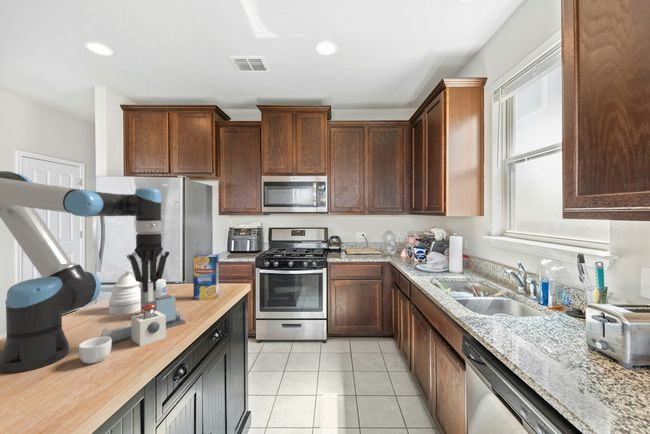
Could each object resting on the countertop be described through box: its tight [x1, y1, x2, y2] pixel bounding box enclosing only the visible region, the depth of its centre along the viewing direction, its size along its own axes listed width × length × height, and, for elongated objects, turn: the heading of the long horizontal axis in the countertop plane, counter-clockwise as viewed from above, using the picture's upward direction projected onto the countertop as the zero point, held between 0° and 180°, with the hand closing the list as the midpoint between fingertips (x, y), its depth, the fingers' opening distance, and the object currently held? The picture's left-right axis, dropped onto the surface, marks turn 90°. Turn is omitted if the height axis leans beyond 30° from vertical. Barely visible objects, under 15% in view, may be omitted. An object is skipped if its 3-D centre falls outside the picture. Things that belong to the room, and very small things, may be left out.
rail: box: [100, 311, 186, 345], centre depth 109 cm, size 25×10×3 cm, turn 141°
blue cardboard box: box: [193, 254, 220, 301], centre depth 151 cm, size 7×11×22 cm, turn 100°
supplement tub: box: [140, 278, 167, 314], centre depth 125 cm, size 10×10×15 cm
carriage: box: [152, 294, 177, 322], centre depth 114 cm, size 7×5×9 cm, turn 141°
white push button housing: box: [130, 311, 167, 347], centre depth 101 cm, size 8×8×8 cm
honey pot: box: [108, 269, 141, 315], centre depth 132 cm, size 13×13×18 cm
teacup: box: [78, 336, 113, 365], centre depth 88 cm, size 10×8×5 cm
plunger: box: [141, 303, 156, 320], centre depth 101 cm, size 4×4×8 cm
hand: (149, 300), depth 101 cm, fingers closed
